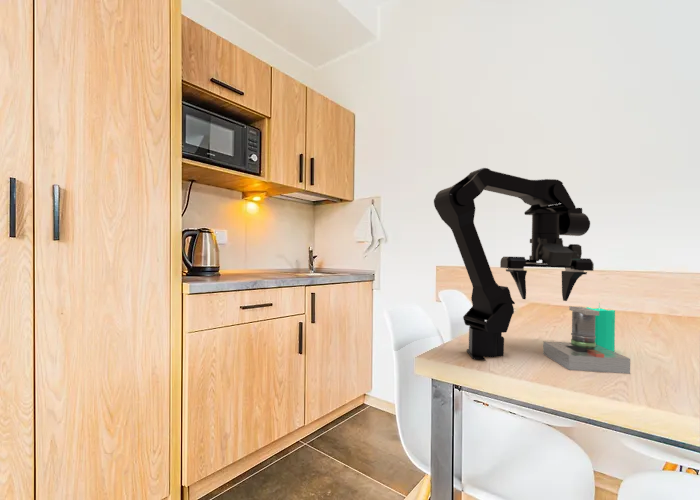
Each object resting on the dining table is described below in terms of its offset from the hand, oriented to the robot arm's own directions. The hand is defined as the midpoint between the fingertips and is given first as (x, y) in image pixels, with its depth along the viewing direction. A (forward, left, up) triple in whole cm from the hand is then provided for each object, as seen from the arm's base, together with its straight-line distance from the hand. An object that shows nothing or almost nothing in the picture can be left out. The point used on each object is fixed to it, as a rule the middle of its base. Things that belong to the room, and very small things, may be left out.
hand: (544, 300), depth 80 cm
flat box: (+4, -9, -12) cm, 16 cm away
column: (+4, -9, -8) cm, 13 cm away
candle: (+14, +3, -13) cm, 19 cm away
